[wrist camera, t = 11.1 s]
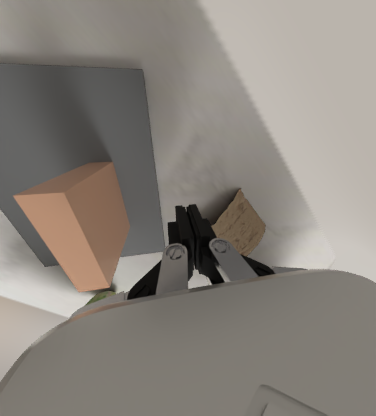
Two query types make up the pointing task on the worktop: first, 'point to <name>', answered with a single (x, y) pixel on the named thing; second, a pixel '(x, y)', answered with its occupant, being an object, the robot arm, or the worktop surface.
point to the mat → (78, 142)
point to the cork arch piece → (240, 225)
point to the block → (81, 222)
